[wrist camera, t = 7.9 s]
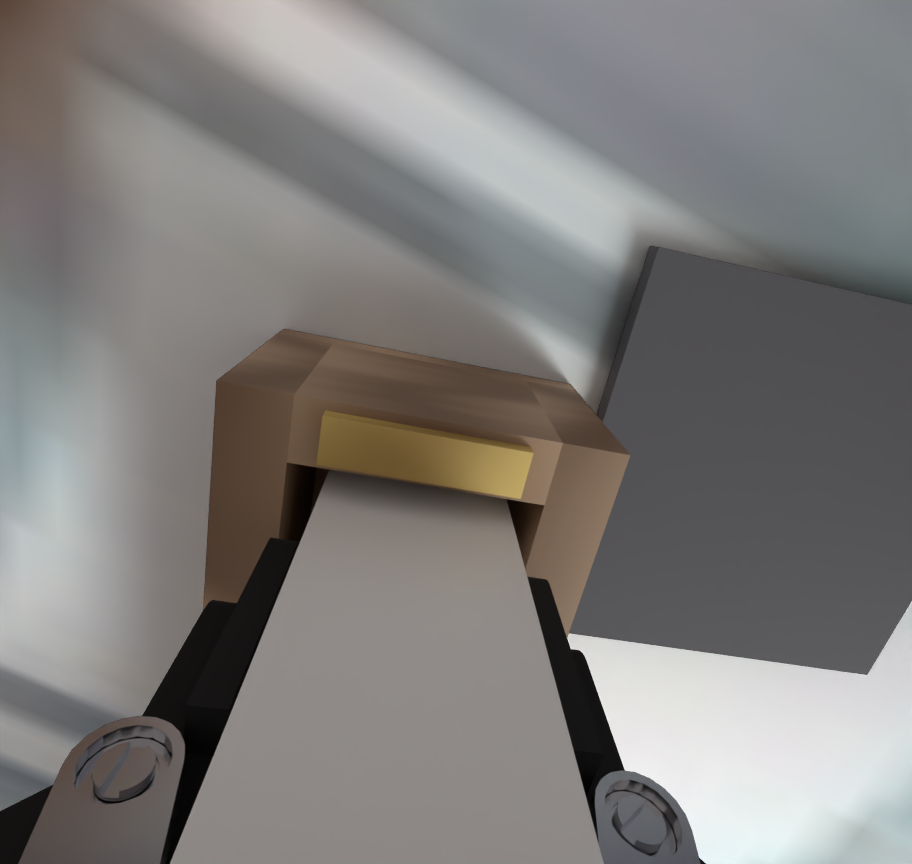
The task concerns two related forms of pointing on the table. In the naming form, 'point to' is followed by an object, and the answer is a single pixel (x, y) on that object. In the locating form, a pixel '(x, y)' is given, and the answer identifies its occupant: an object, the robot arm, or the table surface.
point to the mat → (757, 468)
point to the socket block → (404, 451)
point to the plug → (397, 700)
